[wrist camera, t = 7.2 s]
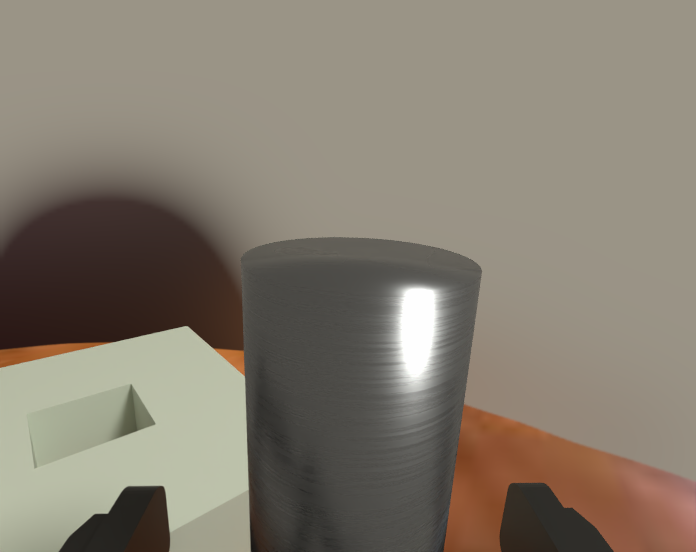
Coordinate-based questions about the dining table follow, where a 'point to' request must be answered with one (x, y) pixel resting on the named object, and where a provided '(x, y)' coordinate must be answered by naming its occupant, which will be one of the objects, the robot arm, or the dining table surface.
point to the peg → (354, 391)
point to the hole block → (125, 441)
